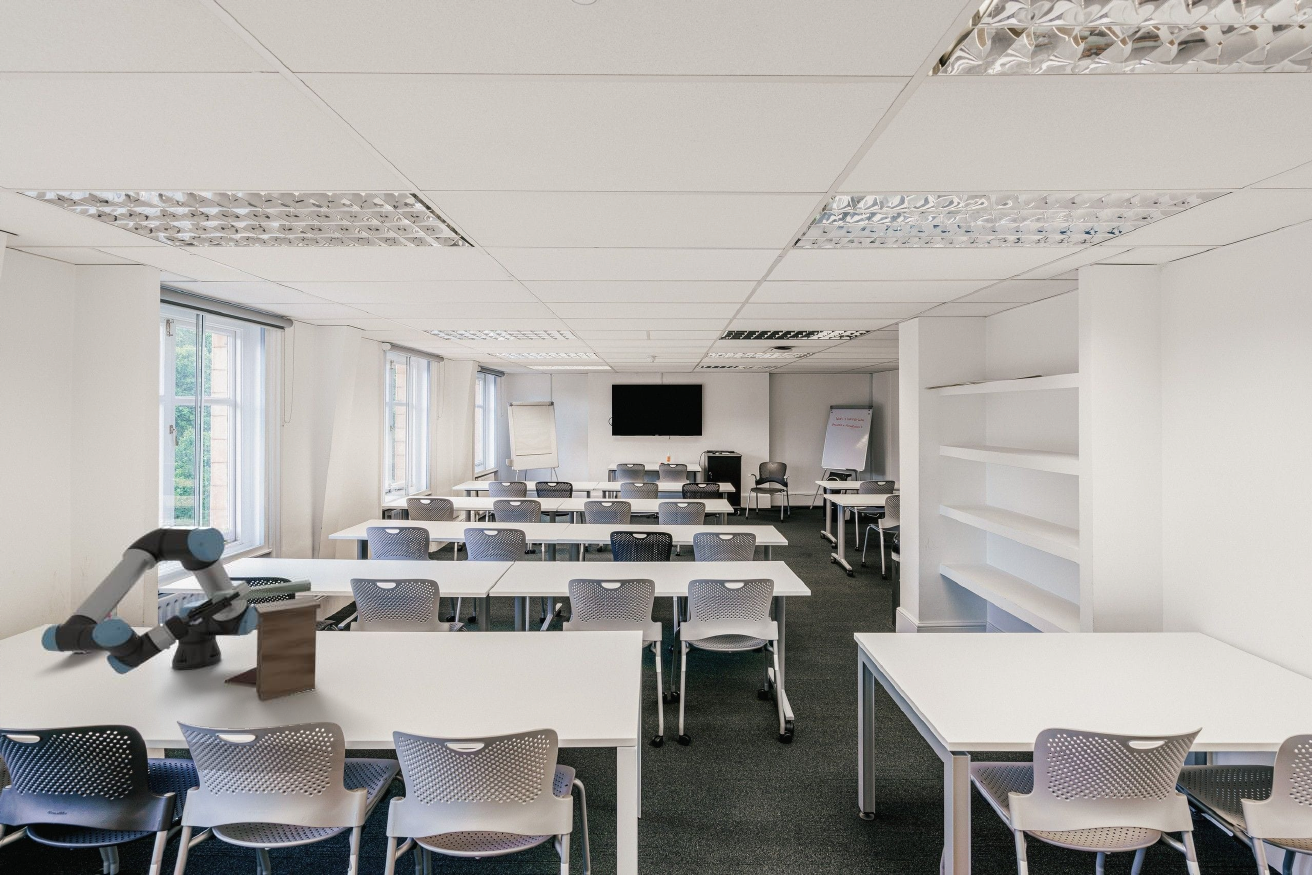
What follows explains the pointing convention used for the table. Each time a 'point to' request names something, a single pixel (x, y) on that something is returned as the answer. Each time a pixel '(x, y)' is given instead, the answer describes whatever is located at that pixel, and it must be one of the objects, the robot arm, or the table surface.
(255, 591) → the slat
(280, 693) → the stand
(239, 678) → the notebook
